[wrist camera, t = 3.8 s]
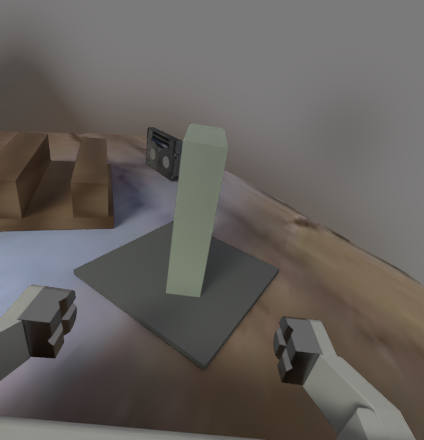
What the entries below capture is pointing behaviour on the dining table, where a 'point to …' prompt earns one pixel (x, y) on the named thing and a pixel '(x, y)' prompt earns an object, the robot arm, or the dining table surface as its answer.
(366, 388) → the robot arm
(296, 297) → the dining table surface
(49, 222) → the rack
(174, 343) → the mat
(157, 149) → the mini dv tape
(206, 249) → the tall sage green pillar
